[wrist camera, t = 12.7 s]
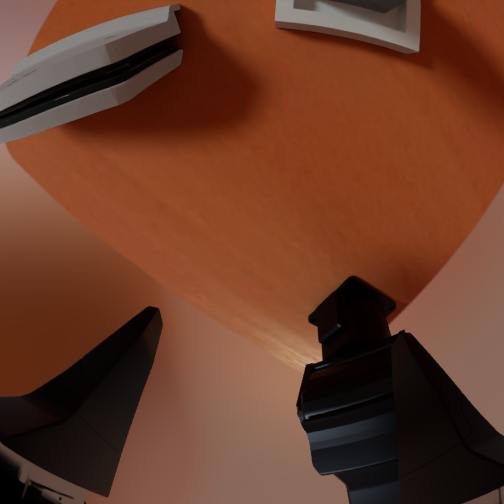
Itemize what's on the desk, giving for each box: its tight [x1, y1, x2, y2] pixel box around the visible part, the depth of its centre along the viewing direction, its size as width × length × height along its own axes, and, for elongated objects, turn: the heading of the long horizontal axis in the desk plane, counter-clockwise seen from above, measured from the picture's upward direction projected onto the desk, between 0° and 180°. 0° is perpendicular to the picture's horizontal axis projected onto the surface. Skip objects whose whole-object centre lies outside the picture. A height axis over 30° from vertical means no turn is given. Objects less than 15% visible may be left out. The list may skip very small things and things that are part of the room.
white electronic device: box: [0, 4, 183, 143], centre depth 13 cm, size 17×5×10 cm, turn 89°
